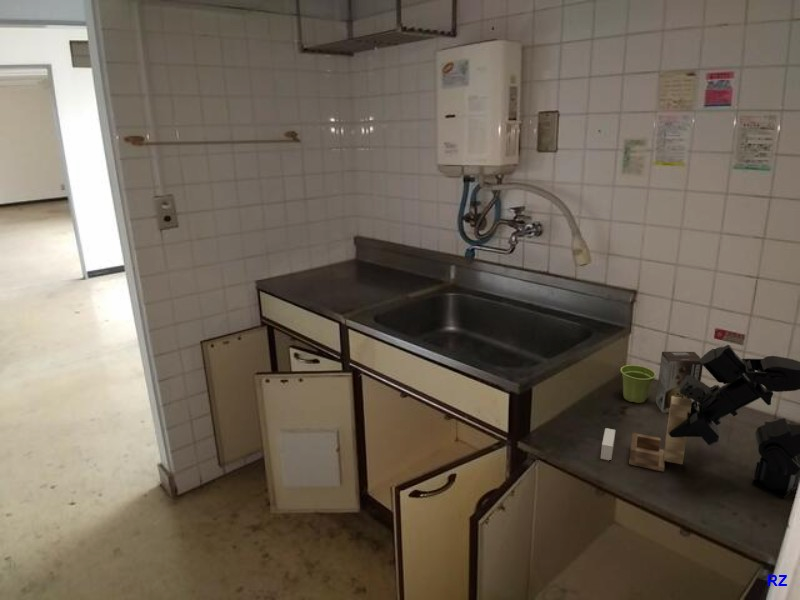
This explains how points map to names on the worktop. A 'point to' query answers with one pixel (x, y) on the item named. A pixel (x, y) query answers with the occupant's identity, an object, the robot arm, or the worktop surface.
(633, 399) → the plant pot
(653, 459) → the walnut cradle
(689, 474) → the worktop surface
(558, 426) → the worktop surface
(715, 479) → the worktop surface
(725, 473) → the worktop surface
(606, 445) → the white rectangular block
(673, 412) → the oak peg
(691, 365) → the coffee box
